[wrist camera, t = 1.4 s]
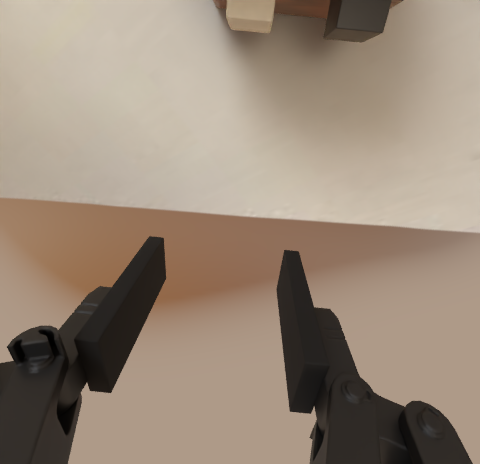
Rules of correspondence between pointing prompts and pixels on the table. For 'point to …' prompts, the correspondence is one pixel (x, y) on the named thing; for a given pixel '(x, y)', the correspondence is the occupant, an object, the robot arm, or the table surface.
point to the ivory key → (250, 15)
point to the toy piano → (300, 7)
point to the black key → (356, 19)
